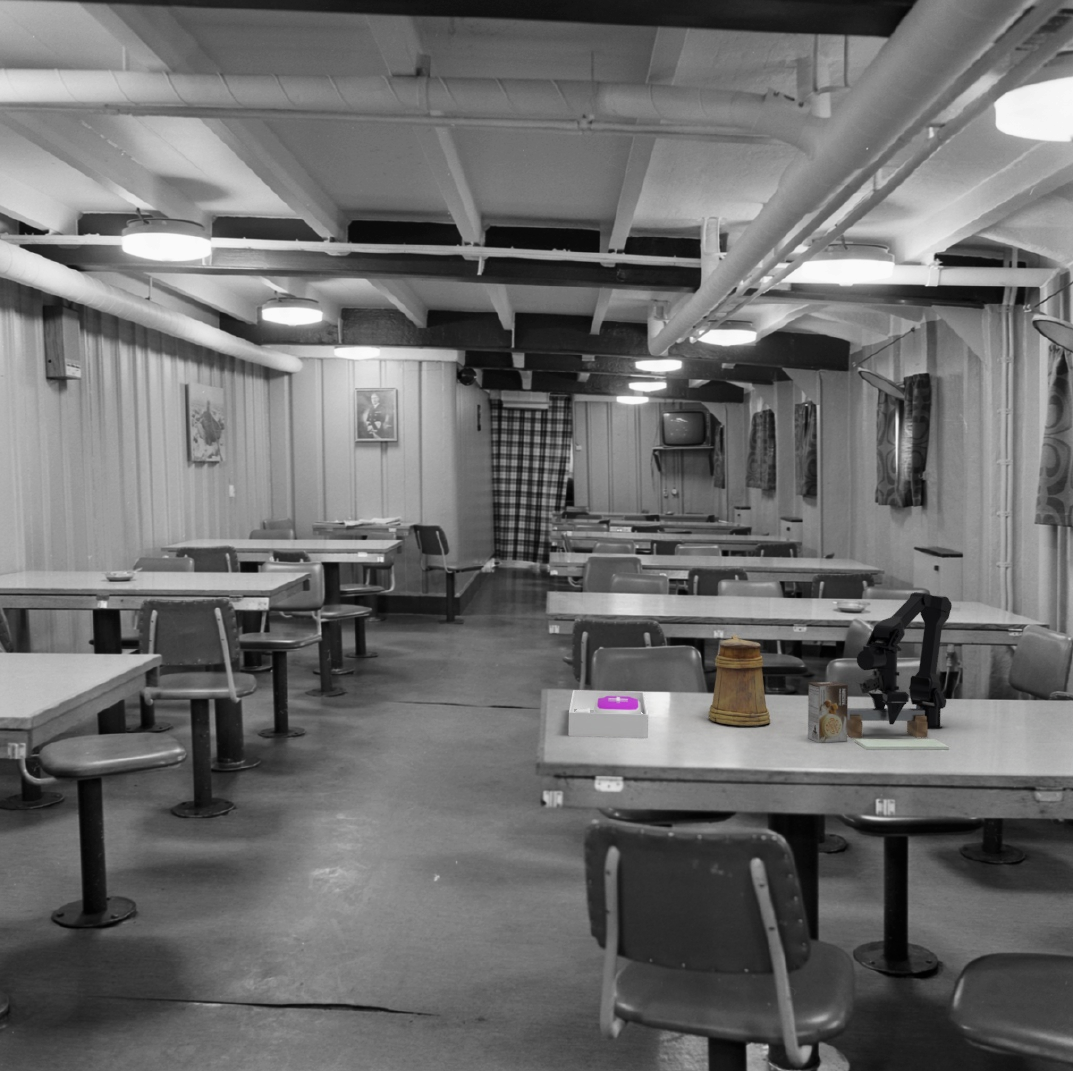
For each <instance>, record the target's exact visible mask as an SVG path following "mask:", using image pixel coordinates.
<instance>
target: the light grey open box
mask: <svg viewBox="0 0 1073 1071" xmlns="http://www.w3.org/2000/svg"><path fill="white" fill-rule="evenodd" d="M645 695H646V694H645V692H644V691H620V690H619V691H618V690H617V691H616V690H615V691H612V690H610V691H609V690H580V689H579V690H578V689H576V690H575V689H573V690H572V694H571V700H570V704H569V711H568V736H569V737H588V736H609V737H608V738H623V737H624V738H630V739H649V712H648V707H647V701H646V696H645ZM574 709H577V710H576V711H575V712H574ZM590 710H594V713H590ZM641 712H642V713H643V714H641Z"/></svg>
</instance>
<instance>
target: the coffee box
mask: <svg viewBox="0 0 1073 1071" xmlns="http://www.w3.org/2000/svg"><path fill="white" fill-rule="evenodd" d="M848 688H849V686H848V684H846V683H842V682H839V681H817V682H816V681H815V682H808V696H807V698H808V699H807V701H808V704H807V706H808V707H807V714H808V715H807V716H808V717H807V720H808V721H807V738H808V739H809V740H812V741H814V742H816V743H819V744H820V743H821V744H823V743H835V742H836V743H837V742H848V735H847V708H848V705H849V704H848V701H849V700H848V698H849V695H848V691H849V690H848Z"/></svg>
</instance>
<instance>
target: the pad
mask: <svg viewBox="0 0 1073 1071" xmlns="http://www.w3.org/2000/svg"><path fill="white" fill-rule="evenodd" d="M854 743H856V744H857V745H858V746H860V747H862V748H863V749H865V750H882V751H883V750H885V751H886V750H893V751H894V750H899V751H900V750H901V751H902V750H906V751H907V750H910V751H911V750H917V751H918V750H920V751H921V750H924V751H925V750H930V749H949V750H950V746H948V745H946V744H945V743H943V742H942V741H939V740H937V739H935V738H930V739H929V738H901V739H900V738H854Z"/></svg>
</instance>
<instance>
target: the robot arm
mask: <svg viewBox="0 0 1073 1071" xmlns="http://www.w3.org/2000/svg"><path fill="white" fill-rule="evenodd" d="M952 606H953V605H952V602H951V601H950V599H949V597H947V596H942V595H932V594H928V592H917V591H916V592H912V593H911V594H910V596H909V598H908V599H907V600H906V601H905V602H904V603H903V604H902V605H901V606H900V607H899V609H897V610H896V612H895V613H893V615H892V616H890V617H888V618H885V619H882V620H880V621H879V622H878V623H876V624H875V625H874V627H873V629H872V631H871V634H870V636H869V637H868V640H867V642H866V644H865V645H863V647H862V650H861V651H860V652H859V653H858V654H857V657H856V663H857V665H858V667H859V668H860V669H861V670H863V671H872V675H868V676H865V677H862V678H858V679H857V680H855V681H854V682H855V685H856V687H857V690H858V693H859V692H860V693H861V694H863V695H864V694H867V695H868V696H869V697H870V698H871V700H872V703H873V706H874V707H873V708H886V707H887V709H888V718H889V721H888V723H889V725H894V724H895V722H897V721H896V719H897V717H898V715H899V713H900V711H901V710H902V708H904V706H906V705H907V703H908V702H910V701H911V702H910V703H911V705H916V706H915V708H921V709H923V710H925V716H926V717H927V721H926V722H928V723H927V729H943V726H942V725H941V709H942V710H943V709H944V708H946V705H947V699H946V697H945V696H944V694H943V692H942V691H941V687H942V686H941V682H940V678H939V677H938V675H937V670H938V669H937V668H938V660H939V656H940V655H939V654H940V645H941V639H942V638H941V636H942V631H943V630H942V629H943V626H944V624H945V623H946V622H947V620H949V619H950V615H951V610H952V608H953V607H952ZM918 615H920V616H921V618H922V621H923V623H924V625H923V626H924V627H923V634H922V635H923V636H922V645H921V651H920V658H919V666H918V667H919V668H918V671H917V672H916V674H914V675H911V677H910V680H909V681H910V683H909V687H908V689H909V690H908V692H909V694H908V692H906V691H905V690H903V689H900V686H899V685H897V682H898V681H897V680H898V678H897V677H899V676H900V672H899V671H898V652H901V651H902V648H901V647H900V646H899V645H898V644H900V642H901V641H902V640H903V638H904V637H905V634H906V633H905V630H906V628H907V627H908V626H909V625H910V624H911V622H912V621H913V620H915V618H916V617H917V616H918ZM909 696H910V697H909ZM909 698H910V700H909Z"/></svg>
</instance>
